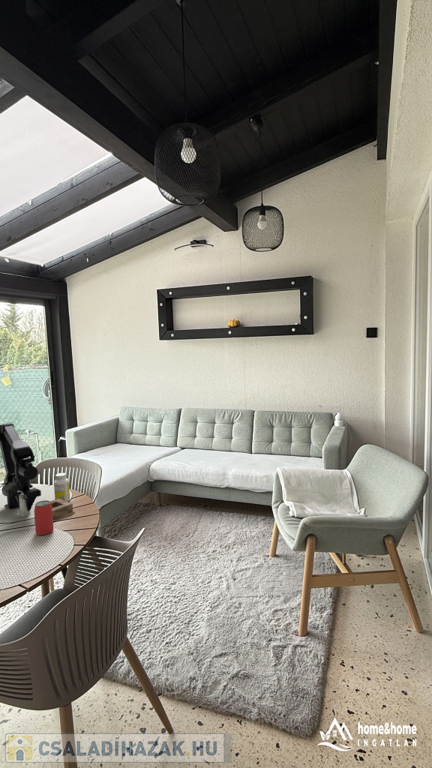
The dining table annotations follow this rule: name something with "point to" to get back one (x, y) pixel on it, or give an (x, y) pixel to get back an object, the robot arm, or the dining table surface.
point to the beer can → (43, 518)
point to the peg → (23, 507)
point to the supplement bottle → (61, 487)
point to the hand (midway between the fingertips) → (25, 509)
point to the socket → (61, 508)
